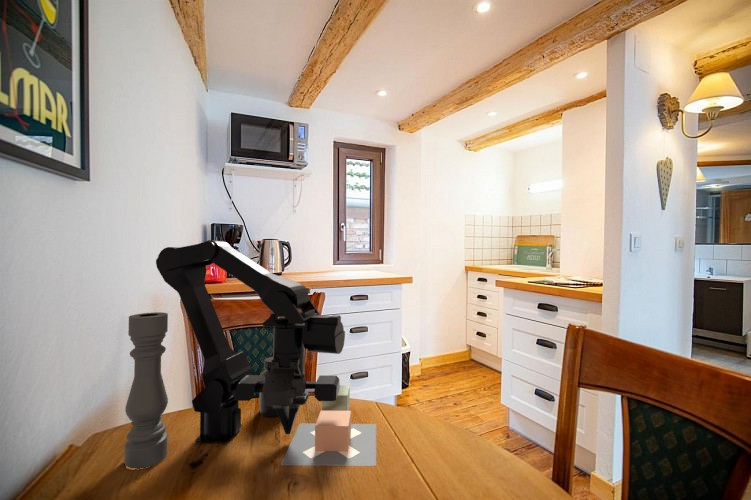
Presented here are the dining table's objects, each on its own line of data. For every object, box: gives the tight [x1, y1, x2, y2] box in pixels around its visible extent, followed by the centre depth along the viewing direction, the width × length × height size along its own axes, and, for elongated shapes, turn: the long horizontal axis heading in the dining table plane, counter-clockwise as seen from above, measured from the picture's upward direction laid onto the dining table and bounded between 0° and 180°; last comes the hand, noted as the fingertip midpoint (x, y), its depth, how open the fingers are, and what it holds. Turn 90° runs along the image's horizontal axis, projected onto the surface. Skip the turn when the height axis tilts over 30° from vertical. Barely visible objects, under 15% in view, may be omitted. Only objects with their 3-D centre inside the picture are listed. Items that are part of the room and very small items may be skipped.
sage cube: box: [321, 385, 351, 411], centre depth 75 cm, size 6×6×6 cm
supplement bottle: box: [259, 356, 279, 418], centre depth 76 cm, size 7×7×12 cm
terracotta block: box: [315, 410, 352, 451], centre depth 63 cm, size 6×6×4 cm
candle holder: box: [123, 312, 169, 469], centre depth 59 cm, size 6×6×25 cm
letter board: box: [280, 422, 377, 467], centre depth 63 cm, size 16×14×1 cm
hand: (288, 433), depth 63 cm, fingers closed
